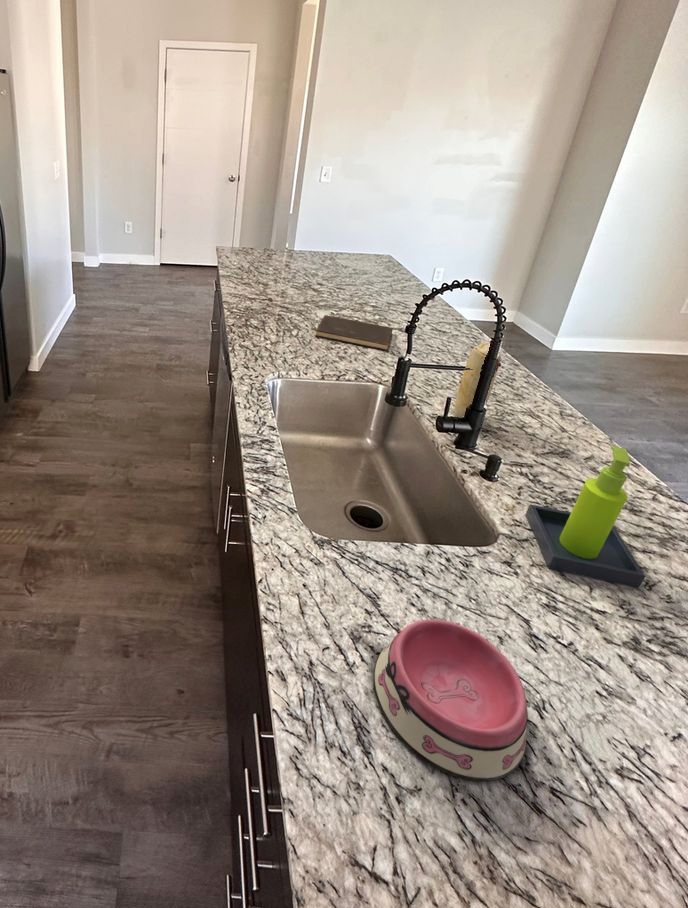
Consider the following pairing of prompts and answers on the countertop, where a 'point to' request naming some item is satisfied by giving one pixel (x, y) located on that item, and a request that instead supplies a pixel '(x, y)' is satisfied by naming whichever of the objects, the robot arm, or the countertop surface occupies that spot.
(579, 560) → the drip tray
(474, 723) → the dog bowl
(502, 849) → the countertop surface
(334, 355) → the countertop surface
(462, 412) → the food model
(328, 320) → the hardcover book
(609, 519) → the soap dispenser
